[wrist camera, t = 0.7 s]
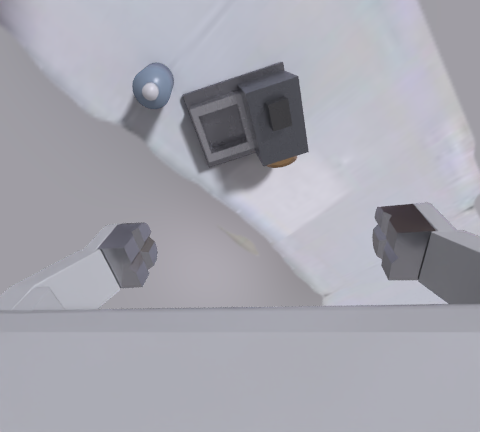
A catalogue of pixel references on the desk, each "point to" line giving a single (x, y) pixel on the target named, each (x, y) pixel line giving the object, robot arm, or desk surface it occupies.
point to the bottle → (153, 85)
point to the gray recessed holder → (250, 117)
